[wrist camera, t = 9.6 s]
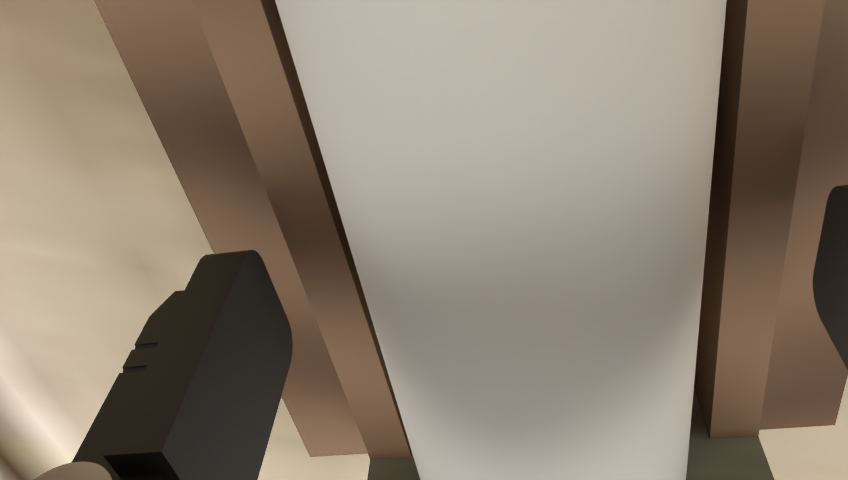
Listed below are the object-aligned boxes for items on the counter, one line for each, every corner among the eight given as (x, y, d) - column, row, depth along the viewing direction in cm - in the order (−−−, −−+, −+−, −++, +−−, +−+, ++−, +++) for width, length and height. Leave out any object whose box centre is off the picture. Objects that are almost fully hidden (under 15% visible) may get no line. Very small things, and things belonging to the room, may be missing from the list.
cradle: (-57, -427, 10) (-493, -526, 5) (1071, -775, 8) (1898, -1432, 3) (317, 422, 21) (274, 615, 17) (817, 388, 19) (919, 600, 14)
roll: (283, -219, 10) (134, -153, 6) (680, -302, 9) (853, -298, 5) (429, 370, 18) (412, 590, 13) (656, 354, 17) (716, 585, 12)
